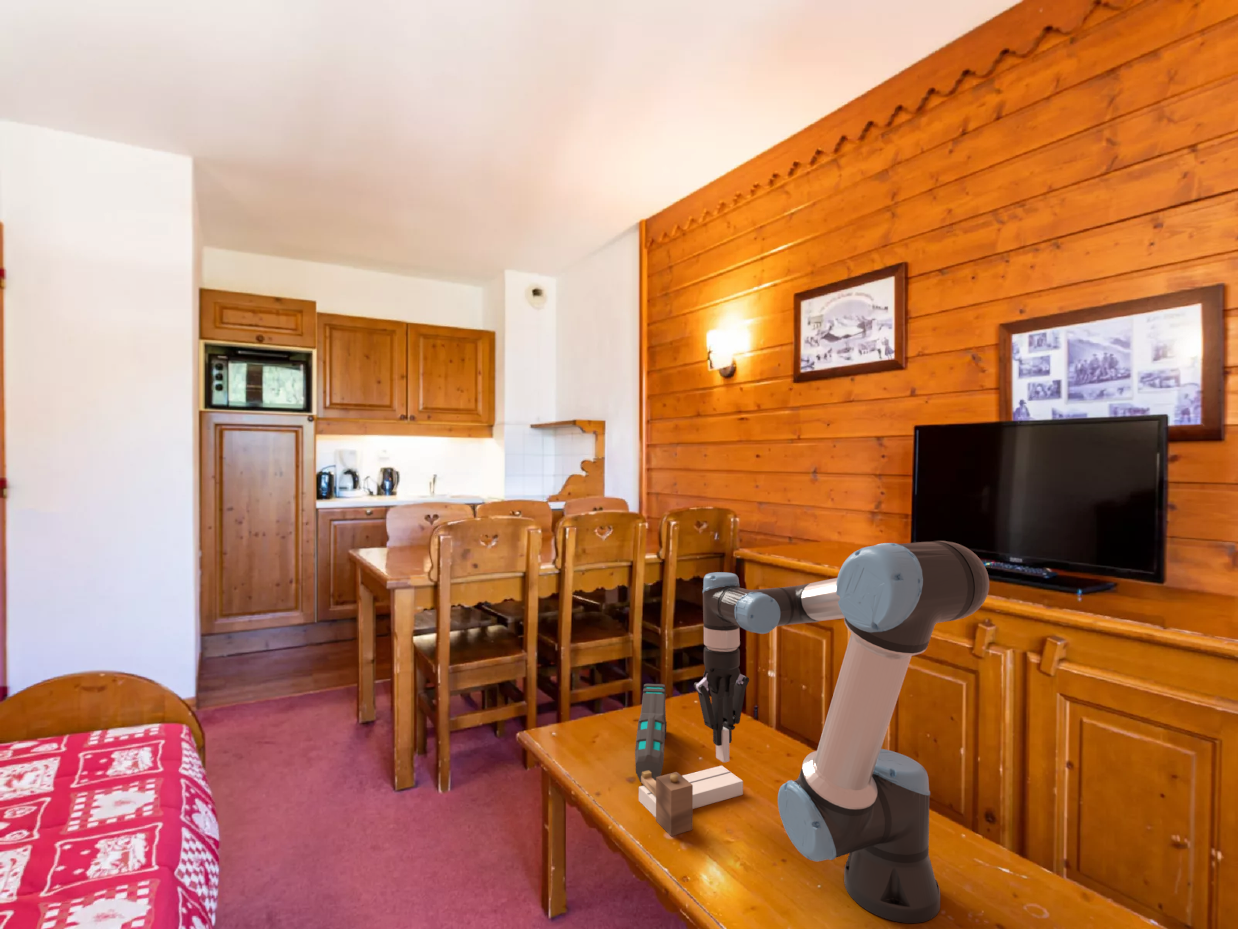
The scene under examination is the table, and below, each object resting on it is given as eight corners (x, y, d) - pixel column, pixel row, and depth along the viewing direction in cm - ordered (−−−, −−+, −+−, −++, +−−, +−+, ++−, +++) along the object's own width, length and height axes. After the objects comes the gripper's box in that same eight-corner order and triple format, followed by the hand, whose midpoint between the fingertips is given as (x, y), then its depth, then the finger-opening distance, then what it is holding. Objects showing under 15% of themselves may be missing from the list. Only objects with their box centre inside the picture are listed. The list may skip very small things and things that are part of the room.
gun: (667, 723, 174) (666, 677, 170) (663, 812, 146) (662, 760, 142) (644, 722, 175) (642, 677, 170) (635, 810, 147) (633, 759, 143)
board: (742, 794, 140) (742, 780, 140) (657, 819, 130) (657, 804, 130) (721, 778, 147) (721, 765, 147) (638, 800, 137) (638, 786, 137)
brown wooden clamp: (692, 829, 126) (692, 780, 126) (671, 836, 124) (671, 785, 124) (654, 793, 140) (654, 748, 140) (634, 798, 138) (634, 753, 138)
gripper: (735, 639, 139) (736, 746, 139) (685, 646, 134) (686, 758, 133) (757, 647, 133) (758, 760, 132) (706, 655, 127) (707, 773, 126)
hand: (722, 759), depth 133 cm, fingers closed
